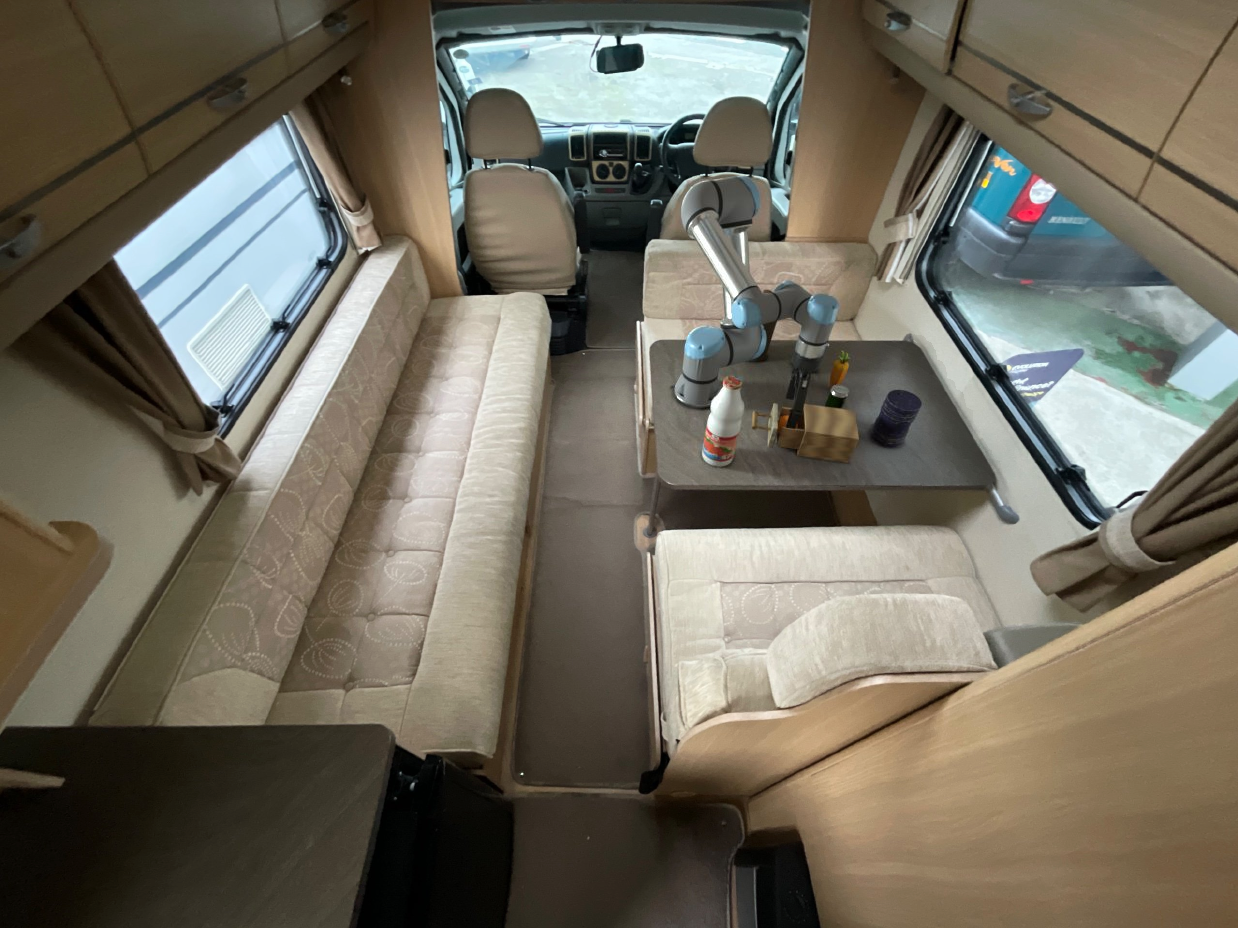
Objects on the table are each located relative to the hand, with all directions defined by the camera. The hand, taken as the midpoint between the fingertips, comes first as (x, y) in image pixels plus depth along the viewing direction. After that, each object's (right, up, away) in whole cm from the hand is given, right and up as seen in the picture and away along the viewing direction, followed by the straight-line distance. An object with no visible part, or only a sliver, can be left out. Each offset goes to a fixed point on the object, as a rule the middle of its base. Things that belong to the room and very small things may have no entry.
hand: (790, 412), depth 164 cm
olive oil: (-1, +25, +39) cm, 46 cm away
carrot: (+22, +10, +26) cm, 35 cm away
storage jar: (+33, -7, +9) cm, 35 cm away
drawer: (-1, -7, +7) cm, 10 cm away
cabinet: (+12, -9, +6) cm, 16 cm away
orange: (0, -4, +4) cm, 5 cm away
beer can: (+17, -1, +15) cm, 23 cm away
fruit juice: (-21, -13, +2) cm, 25 cm away
